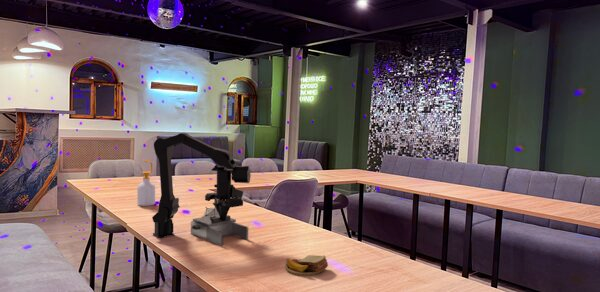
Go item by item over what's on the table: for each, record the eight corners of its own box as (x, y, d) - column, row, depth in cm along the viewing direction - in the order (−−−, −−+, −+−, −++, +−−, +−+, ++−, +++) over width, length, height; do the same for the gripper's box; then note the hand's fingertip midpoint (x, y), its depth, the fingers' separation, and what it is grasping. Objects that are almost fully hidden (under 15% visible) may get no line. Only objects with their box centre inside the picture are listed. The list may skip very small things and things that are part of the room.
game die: (207, 232, 189) (194, 215, 188) (218, 222, 196) (206, 205, 195) (218, 226, 184) (204, 208, 183) (229, 215, 191) (216, 198, 190)
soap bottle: (136, 203, 231) (136, 159, 229) (154, 202, 235) (154, 158, 233) (138, 206, 223) (138, 160, 221) (155, 205, 227) (156, 160, 225)
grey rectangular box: (216, 246, 156) (216, 233, 156) (186, 234, 172) (186, 222, 171) (252, 238, 168) (252, 225, 168) (221, 227, 184) (221, 216, 183)
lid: (208, 227, 163) (208, 220, 163) (192, 221, 172) (192, 214, 172) (235, 221, 172) (235, 215, 172) (219, 216, 181) (219, 210, 181)
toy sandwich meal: (301, 260, 144) (301, 247, 144) (333, 270, 136) (334, 255, 135) (276, 270, 134) (277, 255, 134) (310, 281, 126) (310, 265, 126)
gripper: (254, 183, 165) (253, 222, 166) (227, 177, 179) (226, 213, 180) (231, 185, 157) (230, 226, 158) (204, 180, 171) (204, 217, 172)
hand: (223, 220), depth 167 cm, fingers closed
